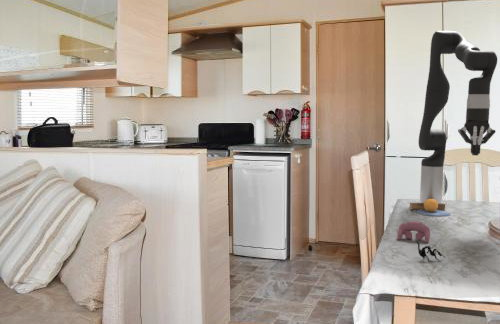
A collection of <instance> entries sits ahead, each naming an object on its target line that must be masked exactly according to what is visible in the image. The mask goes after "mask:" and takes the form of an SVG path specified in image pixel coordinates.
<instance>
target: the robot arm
mask: <svg viewBox="0 0 500 324" xmlns="http://www.w3.org/2000/svg"><path fill="white" fill-rule="evenodd" d="M429 52H430V55H429V69H428V70H429V71H428V77H427V84H426V90H425V91H426V92H425V98H424V99H425V100H424V108H423V109H424V110H423V115H422V121H421V125H420V129H419V134H418V147H419V149H420V150H421V151H434V152H433V153H432V154H431V155H429V156H428V157H424V158H422V159H421V163H420V164H421V166H420V168H421V169H420V189H419V190H420V191H419V203H424V202H425V201H426V200H427V199H434V200H436V201H437V203H443V201H442V200H443V183H444V182H443V180H444V163H445V157H446V147H447V135H446V131H444V130H443V129H432V126H433V123H434V121H435V119H436V117H437V116H438V115H439V114H440V113H441V111H442V110H443V109H444V108H445V107H446V105H447V103H448V101H449V96H450V88H451V86H450V82H449V79H448V78H447V75H446V73H445V72H444V70H443V67H442V62H441V60H442V59H441V58H442V56H441V55H452V54H455V57H456V59H457V60H458V61H460V62H461V63H463V65H464V68H465V69H467V70H469V71H473V72H479V71H480V72H482V73H481V75H480V76H477V77H473V78H470V79H469V81H468V89H467V90H468V91H467V94H468V95H467V99H466V113H465V114H466V115H465V123H464V124H463V125H464V126H462V127H461V128H460V129H459V128H458V129H457V131H458V133H459V135H460V136H461V137H462V139H463V141H464V142H465V143H466V144H469V145H470V153H471V155H472V156H479V155H480V154H481V146H482V145H484V144H486V143H487V142H488V141H489V140H490V139H491V138H492V137H493V136H494V134H495V133H496V130H495V129H492V128H491V126H490V123H489V120H490V107H491V96H490V95H491V93H490V92H491V82H492V79H493V76H494V72H495V70H496V67H497V63H498V55H497V54H496V52H494V51H493V50H492V51H491V50H481V49H479V48H478V47H477V46H475V45H474V44H472V43H470V42H468V41H467V39H466V38H465V37H464V36H463V35H462V34H461V33H460V32H458V31H455V30H454V31H453V30H436V31H434V33H433V35H432V37H431V41H430V51H429ZM485 133H486V134H485ZM484 134H485V135H484ZM468 135H469V136H468Z"/></svg>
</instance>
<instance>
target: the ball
mask: <svg viewBox="0 0 500 324" xmlns="http://www.w3.org/2000/svg"><path fill="white" fill-rule="evenodd" d="M424 208H425V209H426V210H427V211H428V212H434V211H436V210H437V208H438V203H437V201H436V200H434V199H427V200H426V201H425V202H424Z"/></svg>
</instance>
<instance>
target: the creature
mask: <svg viewBox="0 0 500 324" xmlns="http://www.w3.org/2000/svg"><path fill="white" fill-rule="evenodd" d="M415 242H416V243H417V251H418V254H419V256H420V257H421V258H422V259H426V258H427V261H430V257H428V255H430V256H431V257H434V258H435V260H436V261H438V262H439V263H442V262H441V260H439V259H438V258H437V255H438V256H440V257H443V258H445V259H446V256H445V255H443V254H442V253H441V252H440V251H439V250H437V248H435V247H436V246H437V244H434V245H433V246H431V245H425V246H424V247H422V248H421V249H420V246H421V245H420V243H419V240H418V241H417V240H416V241H415ZM433 247H434V249H433ZM426 249H427V252H426ZM432 249H433V250H432ZM427 254H428V255H427ZM436 254H437V255H436Z"/></svg>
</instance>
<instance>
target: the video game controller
mask: <svg viewBox="0 0 500 324" xmlns="http://www.w3.org/2000/svg"><path fill="white" fill-rule="evenodd" d="M412 232H416V233H415V236H413V233H412ZM403 236H404V237H405V238H406V239H407V240H411V239H412V238H413V237H415V239H416V241H417V240H418V241H422V240H423V239H424V242H425V243H426V244H428V243H429V242H430V239H431V229H430V226H428V225H427V224H426V223H423V222H420V221H413V220H412V221H411V220H410V221H403V222H402V223H401V224H400V225H399V226H398V228H397V236H396V237H397V240H398V241H400V240H402V238H403Z"/></svg>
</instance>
